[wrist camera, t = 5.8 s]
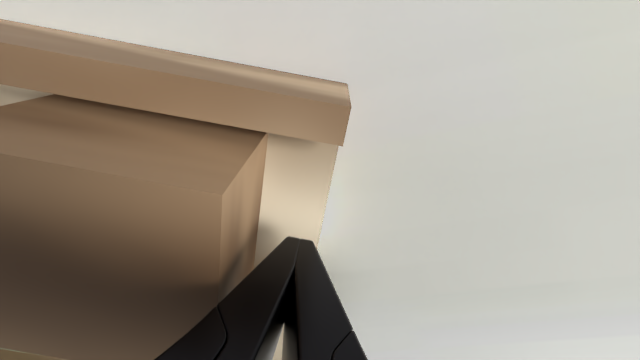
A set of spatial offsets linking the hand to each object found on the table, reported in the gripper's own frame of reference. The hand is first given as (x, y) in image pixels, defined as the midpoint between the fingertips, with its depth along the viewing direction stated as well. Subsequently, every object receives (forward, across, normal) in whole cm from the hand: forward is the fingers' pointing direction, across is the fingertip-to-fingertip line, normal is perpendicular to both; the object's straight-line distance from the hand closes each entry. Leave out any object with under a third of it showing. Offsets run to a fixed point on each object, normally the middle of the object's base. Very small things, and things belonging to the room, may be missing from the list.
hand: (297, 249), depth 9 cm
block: (+2, +4, 0) cm, 5 cm away
